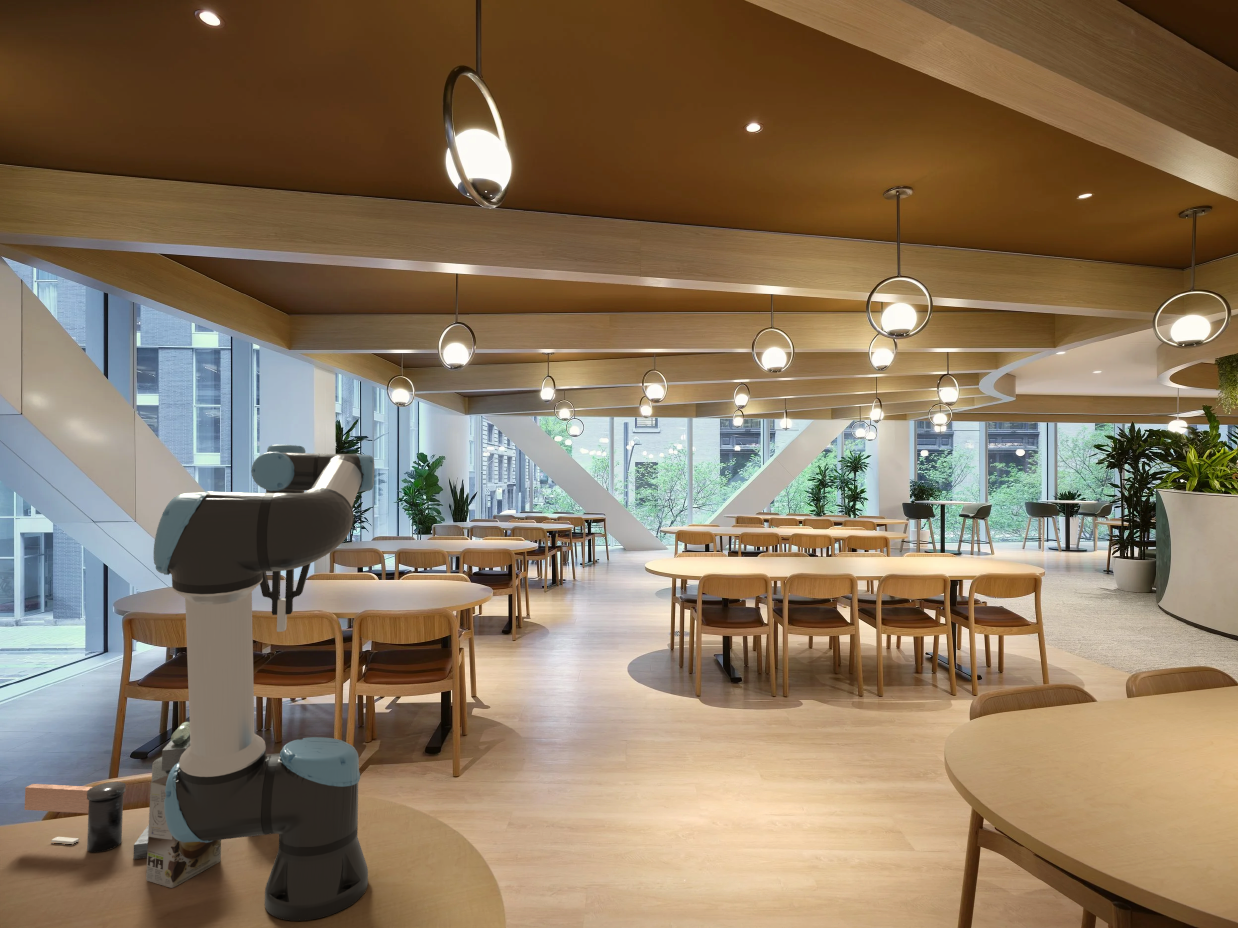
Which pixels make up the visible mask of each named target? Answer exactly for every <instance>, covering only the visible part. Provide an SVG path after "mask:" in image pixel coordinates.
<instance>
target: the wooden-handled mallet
mask: <svg viewBox="0 0 1238 928" xmlns="http://www.w3.org/2000/svg"><path fill="white" fill-rule="evenodd" d="M126 786H127V785H126V783H125V782H121V781H110V782H106V783H100V784H97V785H94V786H83V785H82V786H81V785H64V784H63V785H61V784H43V783H32V784H30V785H27V786H25V788H24V790H25V791H24V793H25V794H24V811H38V812H39V811H40V812H55V813H57V812H58V813H59V812H60V813H75V814H76V813H79V814H87V815H88V816H87V818H88V819H87V820H88V821H87V839H86V841H87V845H86V851H87V852H90V853H102V852H105V851H109V850H112V849H114V848H117V847H118V846H119V845H121V843H122V842H123V841H122V840H123V837H122V836H123V814H124V813H123V811H124V810H123V809H124V793H125V792H126V788H127V787H126Z"/></svg>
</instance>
